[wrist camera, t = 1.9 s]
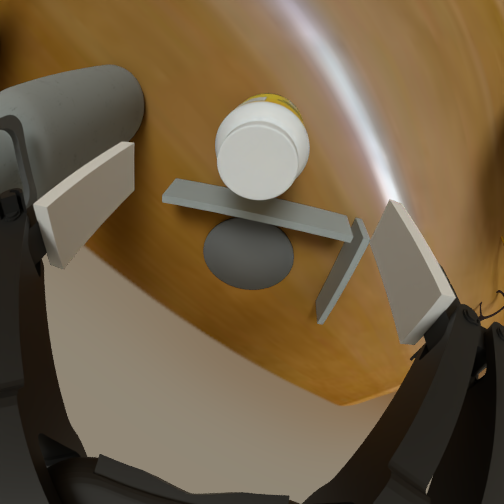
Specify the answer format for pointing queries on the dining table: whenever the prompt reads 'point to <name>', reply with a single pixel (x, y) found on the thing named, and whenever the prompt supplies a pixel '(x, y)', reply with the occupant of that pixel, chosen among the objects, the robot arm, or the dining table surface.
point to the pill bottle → (262, 147)
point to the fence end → (342, 270)
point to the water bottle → (64, 125)
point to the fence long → (259, 209)
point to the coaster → (248, 253)
